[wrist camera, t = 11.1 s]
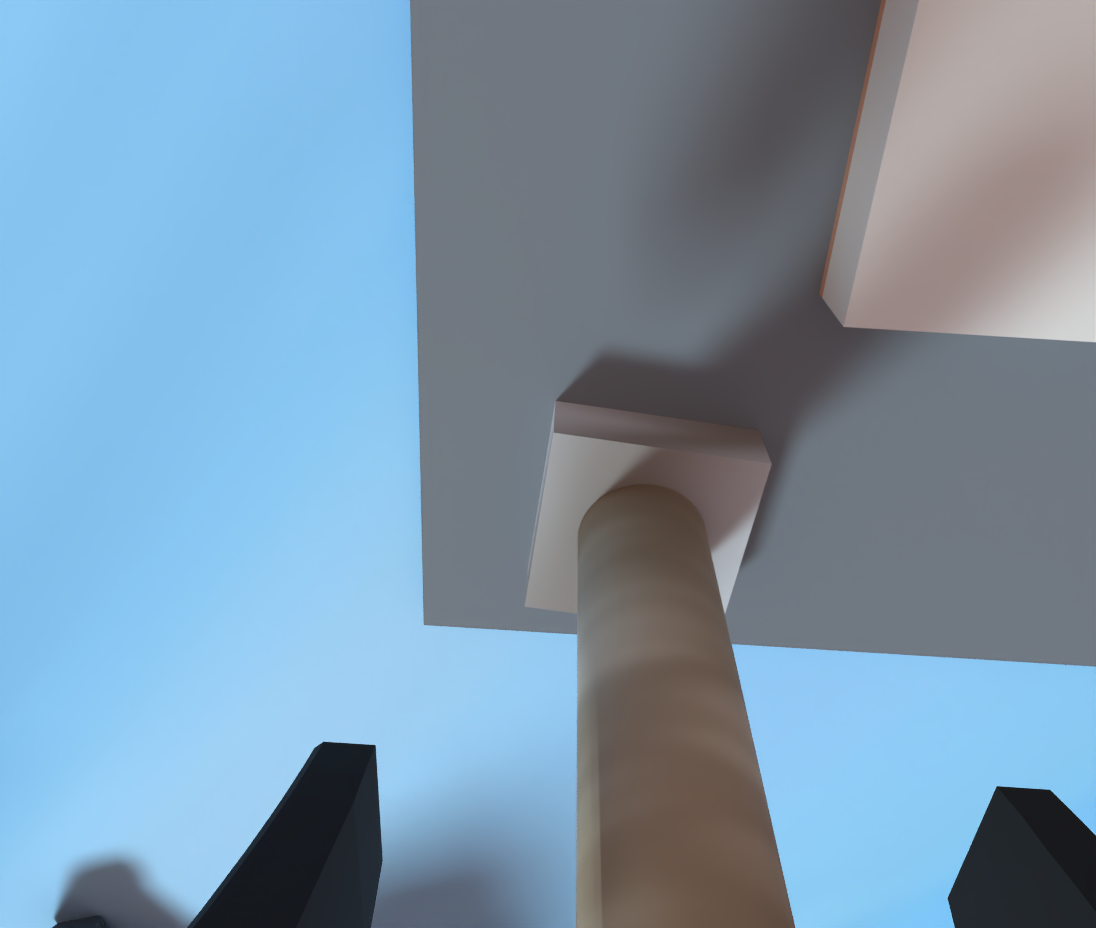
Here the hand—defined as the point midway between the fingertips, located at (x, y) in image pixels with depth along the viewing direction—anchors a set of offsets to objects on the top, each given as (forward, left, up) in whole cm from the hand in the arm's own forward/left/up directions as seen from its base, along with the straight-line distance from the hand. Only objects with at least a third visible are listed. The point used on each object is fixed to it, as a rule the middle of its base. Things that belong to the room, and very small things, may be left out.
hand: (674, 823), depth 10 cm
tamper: (0, 0, -7) cm, 7 cm away
